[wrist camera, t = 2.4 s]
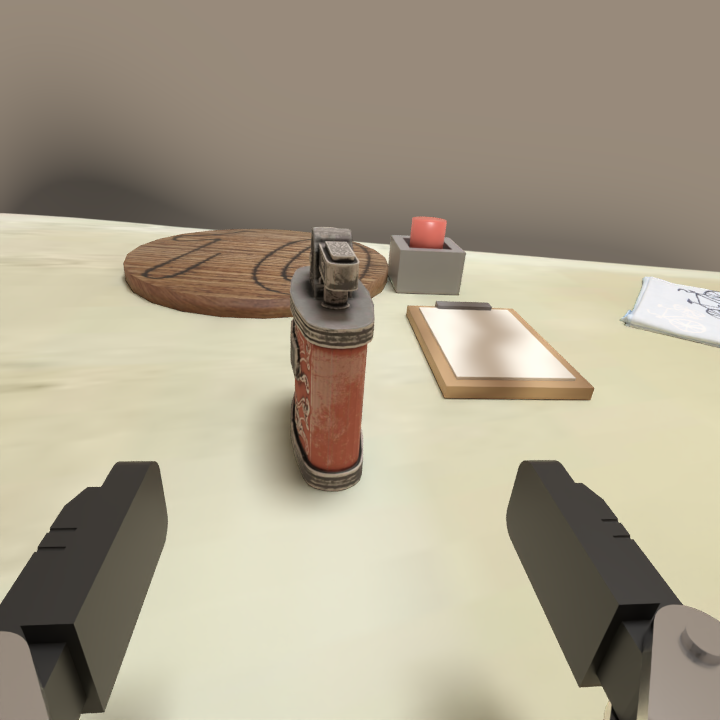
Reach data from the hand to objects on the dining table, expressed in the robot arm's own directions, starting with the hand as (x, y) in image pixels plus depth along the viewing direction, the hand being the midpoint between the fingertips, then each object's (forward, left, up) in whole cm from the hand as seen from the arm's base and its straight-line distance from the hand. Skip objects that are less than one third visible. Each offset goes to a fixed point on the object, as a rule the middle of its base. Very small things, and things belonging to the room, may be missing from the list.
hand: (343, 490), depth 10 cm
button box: (+10, +36, -7) cm, 38 cm away
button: (+10, +36, -5) cm, 38 cm away
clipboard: (+11, +21, -7) cm, 25 cm away
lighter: (0, +11, -7) cm, 13 cm away
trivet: (-6, +38, -7) cm, 40 cm away
